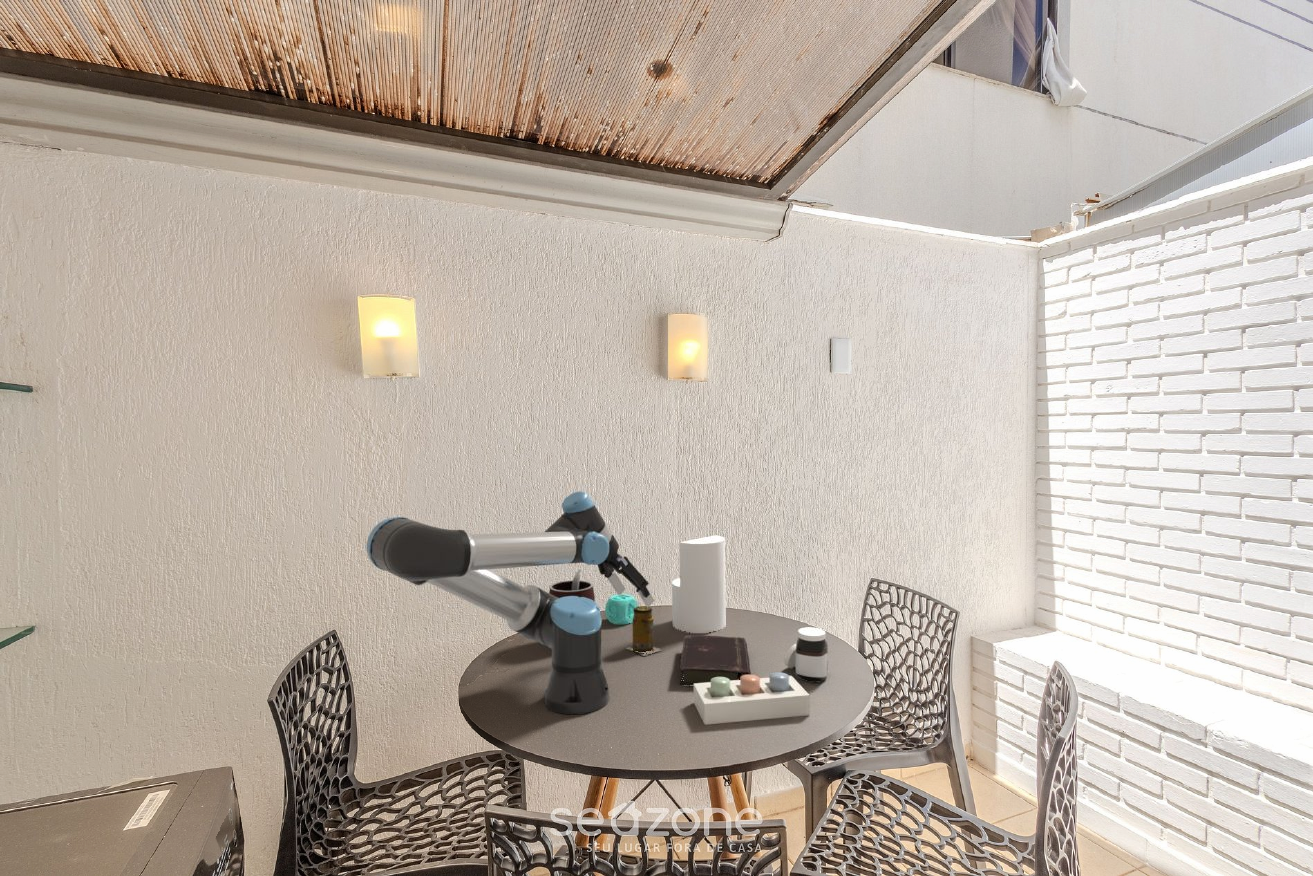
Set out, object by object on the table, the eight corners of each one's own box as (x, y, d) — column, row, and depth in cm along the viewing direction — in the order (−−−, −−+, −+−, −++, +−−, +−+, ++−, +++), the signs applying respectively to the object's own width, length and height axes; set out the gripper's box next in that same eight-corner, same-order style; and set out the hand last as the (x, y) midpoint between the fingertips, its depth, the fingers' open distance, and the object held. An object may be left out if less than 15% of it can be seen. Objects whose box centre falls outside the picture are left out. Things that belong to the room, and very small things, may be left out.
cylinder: (736, 624, 205) (736, 538, 204) (700, 637, 193) (699, 546, 192) (697, 613, 217) (696, 532, 217) (661, 624, 205) (660, 539, 205)
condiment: (645, 643, 188) (644, 603, 188) (663, 651, 182) (663, 609, 181) (625, 649, 184) (625, 608, 183) (643, 657, 177) (643, 614, 177)
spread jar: (823, 686, 156) (823, 639, 156) (778, 679, 161) (778, 633, 160) (831, 669, 167) (831, 625, 166) (789, 662, 171) (788, 620, 171)
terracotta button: (743, 698, 142) (743, 683, 141) (738, 689, 146) (737, 675, 146) (762, 696, 142) (762, 681, 142) (756, 688, 147) (756, 673, 146)
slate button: (773, 695, 143) (773, 680, 143) (767, 687, 147) (766, 673, 147) (792, 694, 143) (791, 679, 143) (785, 686, 148) (784, 671, 148)
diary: (746, 654, 181) (746, 636, 180) (751, 690, 156) (752, 670, 156) (681, 651, 182) (681, 634, 182) (676, 687, 157) (676, 667, 157)
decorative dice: (638, 619, 211) (638, 596, 211) (624, 626, 204) (624, 602, 204) (619, 616, 215) (618, 593, 215) (605, 622, 208) (604, 598, 208)
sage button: (713, 700, 140) (713, 685, 140) (708, 692, 145) (708, 677, 145) (732, 699, 141) (732, 683, 141) (727, 690, 145) (727, 676, 145)
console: (704, 724, 137) (704, 704, 137) (693, 702, 148) (693, 683, 148) (809, 715, 141) (809, 695, 140) (791, 694, 151) (791, 675, 151)
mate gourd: (587, 651, 182) (586, 582, 181) (542, 649, 184) (541, 581, 184) (602, 633, 197) (601, 570, 197) (559, 631, 200) (558, 568, 199)
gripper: (637, 540, 162) (672, 599, 171) (585, 525, 182) (619, 578, 190) (617, 560, 159) (654, 619, 167) (567, 543, 178) (602, 596, 187)
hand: (635, 597), depth 179 cm, fingers open, 13 cm apart
